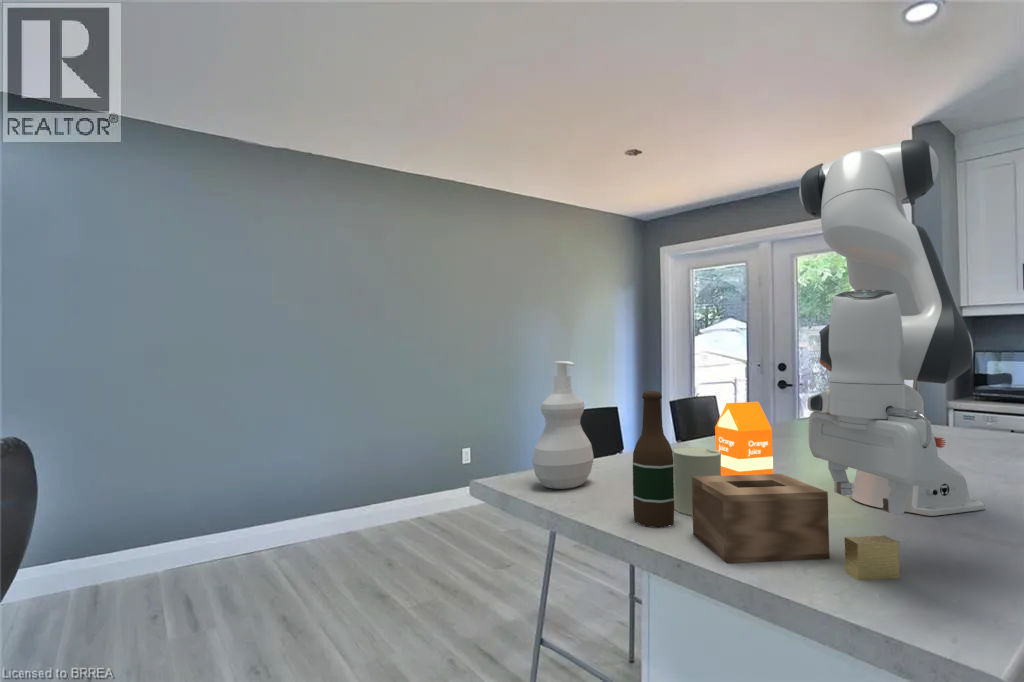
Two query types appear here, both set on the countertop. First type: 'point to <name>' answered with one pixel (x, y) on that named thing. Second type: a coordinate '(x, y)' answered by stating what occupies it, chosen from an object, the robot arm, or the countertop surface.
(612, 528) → the countertop surface
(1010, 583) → the countertop surface
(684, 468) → the can
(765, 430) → the orange juice
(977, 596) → the countertop surface
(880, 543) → the wooden block
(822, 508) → the coin box
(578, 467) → the soap bottle
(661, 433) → the beer bottle
